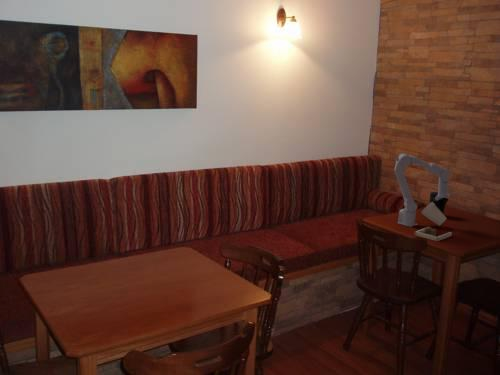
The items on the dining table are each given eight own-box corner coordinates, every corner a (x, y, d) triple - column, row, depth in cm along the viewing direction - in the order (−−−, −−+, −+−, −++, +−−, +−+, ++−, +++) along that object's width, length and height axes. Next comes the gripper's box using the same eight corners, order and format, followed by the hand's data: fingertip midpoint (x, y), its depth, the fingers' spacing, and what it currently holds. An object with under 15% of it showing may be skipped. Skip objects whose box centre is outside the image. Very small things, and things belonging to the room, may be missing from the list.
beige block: (424, 236, 293) (425, 228, 292) (428, 234, 296) (429, 227, 295) (431, 238, 290) (432, 230, 289) (435, 236, 292) (436, 229, 292)
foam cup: (439, 226, 316) (423, 211, 320) (450, 215, 312) (433, 201, 316) (435, 228, 308) (419, 213, 312) (446, 218, 304) (429, 202, 308)
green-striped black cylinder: (427, 213, 344) (429, 191, 341) (442, 214, 342) (444, 192, 339) (429, 217, 334) (431, 194, 331) (444, 218, 332) (447, 195, 329)
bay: (414, 235, 294) (414, 231, 294) (428, 230, 305) (428, 226, 304) (437, 241, 284) (437, 237, 283) (451, 235, 295) (451, 232, 294)
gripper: (443, 191, 301) (442, 213, 304) (455, 187, 310) (453, 209, 313) (432, 189, 306) (431, 211, 309) (444, 185, 316) (443, 207, 318)
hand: (441, 210), depth 312 cm, fingers closed, pressing on foam cup
